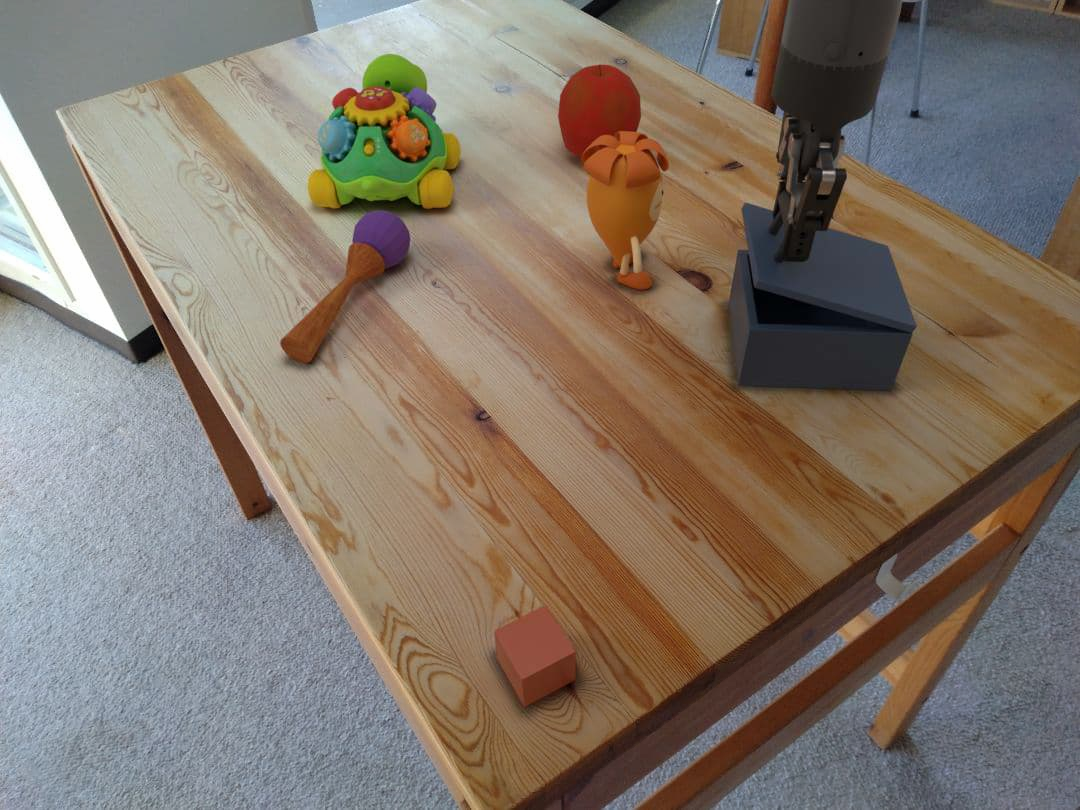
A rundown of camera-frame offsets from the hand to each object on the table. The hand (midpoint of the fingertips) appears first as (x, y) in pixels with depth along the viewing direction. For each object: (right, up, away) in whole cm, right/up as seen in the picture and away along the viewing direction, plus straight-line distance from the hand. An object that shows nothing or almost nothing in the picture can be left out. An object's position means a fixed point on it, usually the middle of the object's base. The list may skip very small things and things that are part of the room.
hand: (789, 238), depth 72 cm
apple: (-14, +17, +34) cm, 41 cm away
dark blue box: (+4, -9, +8) cm, 13 cm away
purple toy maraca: (-41, -4, +15) cm, 43 cm away
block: (-22, -32, -14) cm, 41 cm away
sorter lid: (+4, -2, +2) cm, 5 cm away
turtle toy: (-39, +14, +32) cm, 53 cm away
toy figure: (-13, 0, +17) cm, 22 cm away
